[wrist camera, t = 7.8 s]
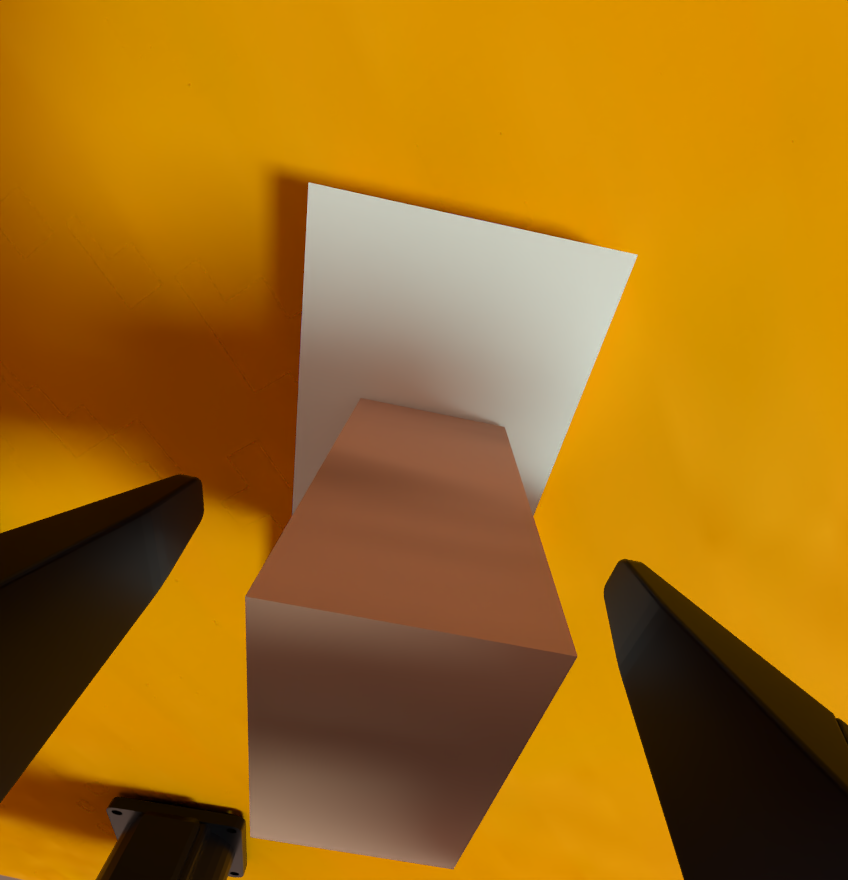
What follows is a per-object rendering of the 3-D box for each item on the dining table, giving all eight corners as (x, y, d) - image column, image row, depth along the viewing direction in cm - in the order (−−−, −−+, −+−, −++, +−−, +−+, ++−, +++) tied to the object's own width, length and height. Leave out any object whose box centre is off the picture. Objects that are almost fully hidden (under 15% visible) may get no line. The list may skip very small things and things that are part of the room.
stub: (465, 650, 13) (479, 951, 7) (297, 620, 13) (181, 905, 7) (614, 254, 7) (1072, 272, 2) (325, 190, 7) (-50, 14, 2)
